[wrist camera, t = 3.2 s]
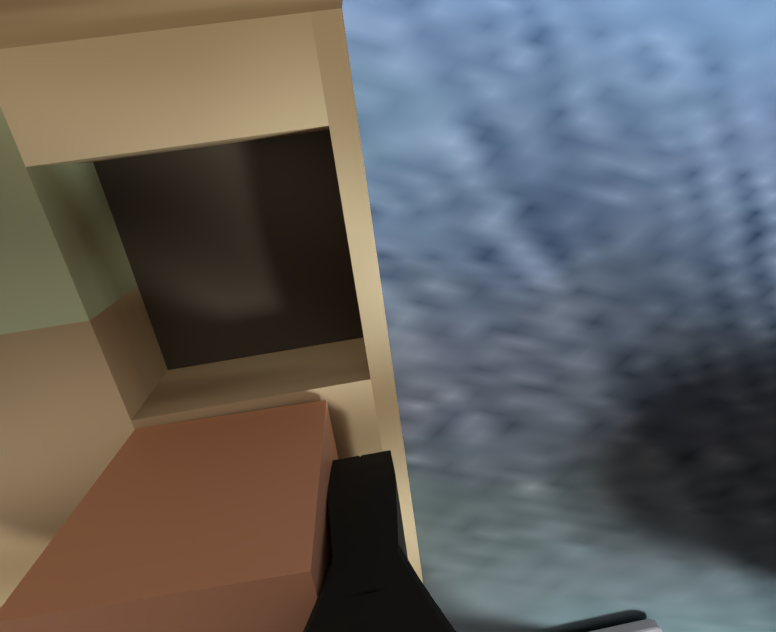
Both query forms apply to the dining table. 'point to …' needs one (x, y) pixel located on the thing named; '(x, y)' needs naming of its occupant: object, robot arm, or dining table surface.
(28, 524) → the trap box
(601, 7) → the dining table surface
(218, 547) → the block
